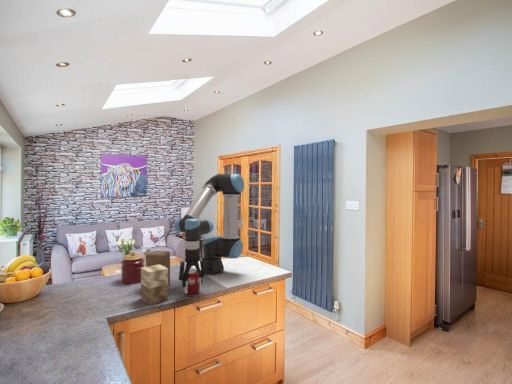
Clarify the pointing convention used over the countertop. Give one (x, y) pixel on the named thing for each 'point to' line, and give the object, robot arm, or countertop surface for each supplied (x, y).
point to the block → (159, 260)
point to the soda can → (193, 283)
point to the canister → (132, 268)
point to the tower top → (154, 276)
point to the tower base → (154, 294)
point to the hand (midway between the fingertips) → (192, 291)
